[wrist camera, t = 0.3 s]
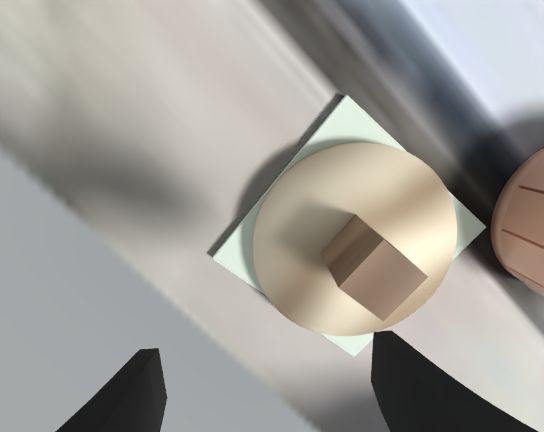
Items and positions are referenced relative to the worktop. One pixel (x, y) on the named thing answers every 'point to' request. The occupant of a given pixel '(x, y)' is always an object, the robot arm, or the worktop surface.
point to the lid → (354, 238)
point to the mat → (334, 130)
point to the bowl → (522, 223)
